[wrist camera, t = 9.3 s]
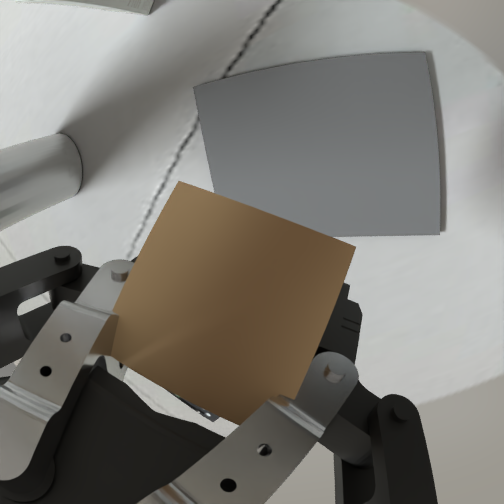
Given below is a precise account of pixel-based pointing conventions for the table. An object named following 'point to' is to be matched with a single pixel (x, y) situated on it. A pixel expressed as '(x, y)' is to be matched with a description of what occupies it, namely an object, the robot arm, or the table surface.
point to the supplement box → (102, 5)
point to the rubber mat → (329, 143)
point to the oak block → (227, 302)
